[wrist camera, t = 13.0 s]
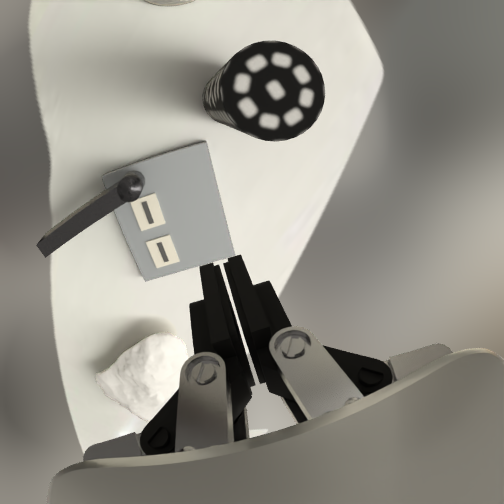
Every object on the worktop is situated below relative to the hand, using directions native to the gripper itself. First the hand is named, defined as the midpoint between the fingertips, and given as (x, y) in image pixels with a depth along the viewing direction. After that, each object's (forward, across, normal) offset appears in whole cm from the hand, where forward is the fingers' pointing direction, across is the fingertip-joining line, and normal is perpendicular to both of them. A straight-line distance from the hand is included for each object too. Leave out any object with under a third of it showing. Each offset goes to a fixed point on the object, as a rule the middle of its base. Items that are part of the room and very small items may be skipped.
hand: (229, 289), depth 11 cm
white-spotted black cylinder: (+32, -7, -7) cm, 34 cm away
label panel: (+32, +6, +8) cm, 33 cm away
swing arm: (+28, +16, +2) cm, 33 cm away
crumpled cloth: (+32, +25, +41) cm, 58 cm away
